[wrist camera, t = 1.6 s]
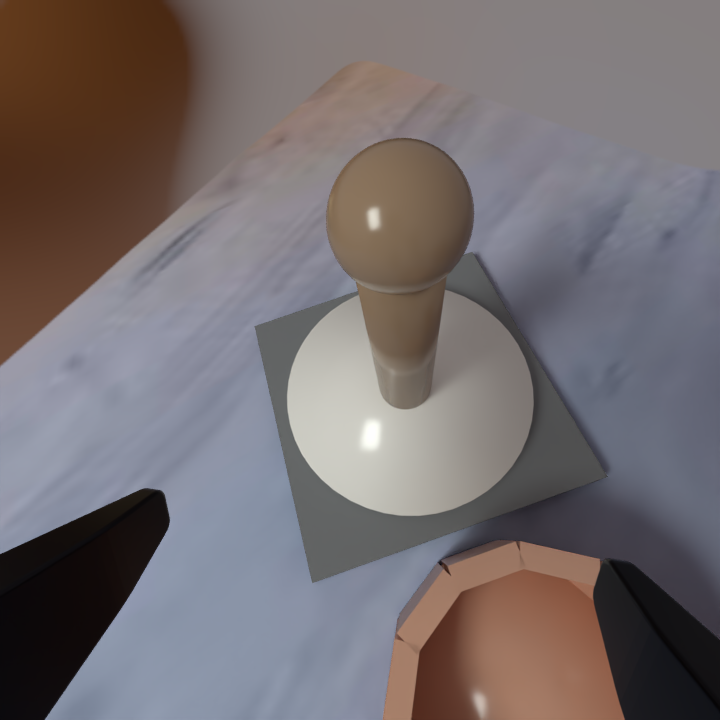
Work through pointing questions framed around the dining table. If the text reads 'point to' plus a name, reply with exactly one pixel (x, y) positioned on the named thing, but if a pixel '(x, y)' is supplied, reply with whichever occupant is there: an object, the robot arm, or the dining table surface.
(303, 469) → the mat
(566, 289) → the dining table surface
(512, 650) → the bowl
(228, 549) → the dining table surface
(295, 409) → the peg stand
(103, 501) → the dining table surface
